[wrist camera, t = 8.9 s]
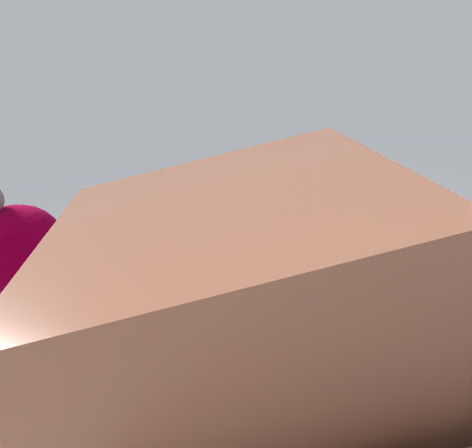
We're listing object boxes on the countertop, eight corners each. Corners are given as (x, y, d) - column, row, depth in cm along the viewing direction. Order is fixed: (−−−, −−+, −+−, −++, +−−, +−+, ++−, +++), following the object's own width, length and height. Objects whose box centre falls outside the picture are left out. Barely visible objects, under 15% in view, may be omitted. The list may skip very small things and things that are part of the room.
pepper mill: (158, 395, 34) (62, 153, 26) (154, 479, 27) (22, 187, 19) (68, 420, 33) (-56, 182, 25) (42, 511, 27) (-138, 227, 19)
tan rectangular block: (182, 738, 9) (-53, 364, 5) (184, 454, 15) (80, 189, 11) (492, 653, 9) (507, 221, 5) (366, 407, 15) (328, 127, 11)
